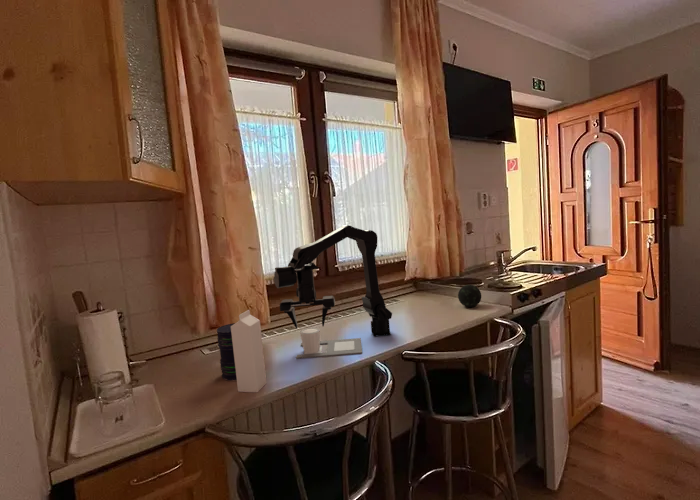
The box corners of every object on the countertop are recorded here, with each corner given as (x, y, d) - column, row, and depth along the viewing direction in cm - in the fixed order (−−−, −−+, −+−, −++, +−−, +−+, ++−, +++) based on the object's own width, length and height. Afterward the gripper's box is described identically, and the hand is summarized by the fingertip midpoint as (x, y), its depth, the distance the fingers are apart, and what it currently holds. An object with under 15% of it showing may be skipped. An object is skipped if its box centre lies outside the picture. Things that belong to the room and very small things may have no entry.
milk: (238, 392, 116) (228, 315, 113) (248, 382, 122) (239, 309, 119) (257, 392, 114) (248, 314, 112) (267, 383, 120) (258, 309, 118)
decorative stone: (454, 306, 188) (453, 284, 187) (473, 303, 191) (472, 281, 190) (466, 311, 179) (465, 288, 178) (486, 307, 182) (485, 285, 181)
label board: (360, 339, 153) (360, 337, 152) (362, 354, 138) (362, 351, 138) (301, 344, 153) (301, 342, 153) (296, 359, 138) (296, 357, 138)
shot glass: (324, 347, 147) (322, 327, 147) (316, 353, 141) (315, 334, 140) (307, 346, 150) (305, 327, 149) (298, 353, 143) (296, 333, 142)
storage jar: (223, 383, 122) (218, 334, 121) (220, 372, 131) (214, 326, 130) (257, 375, 126) (252, 328, 125) (251, 365, 135) (246, 320, 134)
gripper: (333, 277, 151) (337, 318, 152) (282, 281, 151) (286, 323, 152) (332, 282, 140) (336, 327, 141) (277, 287, 140) (281, 332, 141)
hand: (310, 327), depth 144 cm, fingers open, 9 cm apart
